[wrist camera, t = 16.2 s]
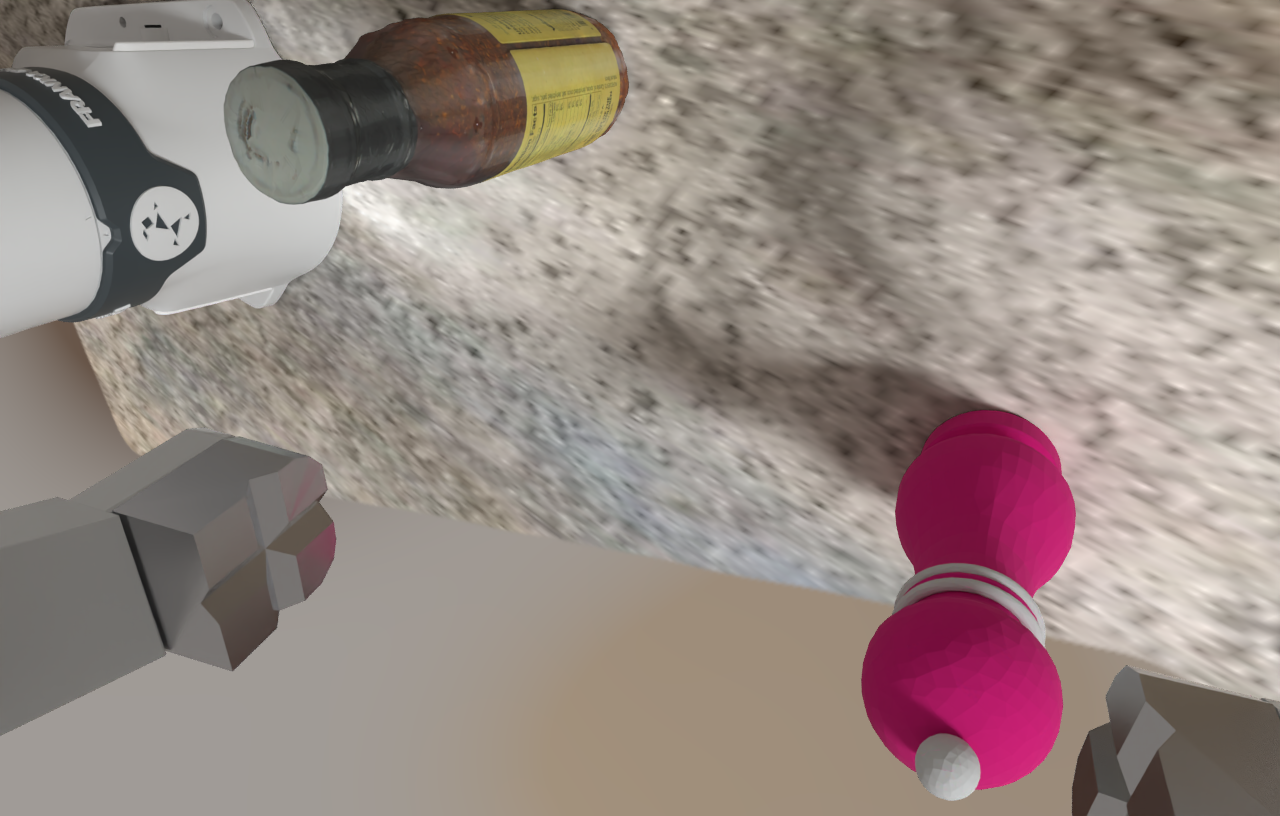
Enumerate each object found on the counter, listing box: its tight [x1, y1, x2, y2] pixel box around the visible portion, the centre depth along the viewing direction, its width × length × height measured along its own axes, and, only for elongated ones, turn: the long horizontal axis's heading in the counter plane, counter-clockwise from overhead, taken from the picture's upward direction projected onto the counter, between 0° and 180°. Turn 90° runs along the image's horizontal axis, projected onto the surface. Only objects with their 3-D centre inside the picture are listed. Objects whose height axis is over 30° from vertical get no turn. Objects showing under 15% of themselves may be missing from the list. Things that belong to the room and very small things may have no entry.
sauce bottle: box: [224, 9, 629, 205], centre depth 32 cm, size 6×6×20 cm
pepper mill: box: [861, 410, 1076, 800], centre depth 31 cm, size 7×7×20 cm
